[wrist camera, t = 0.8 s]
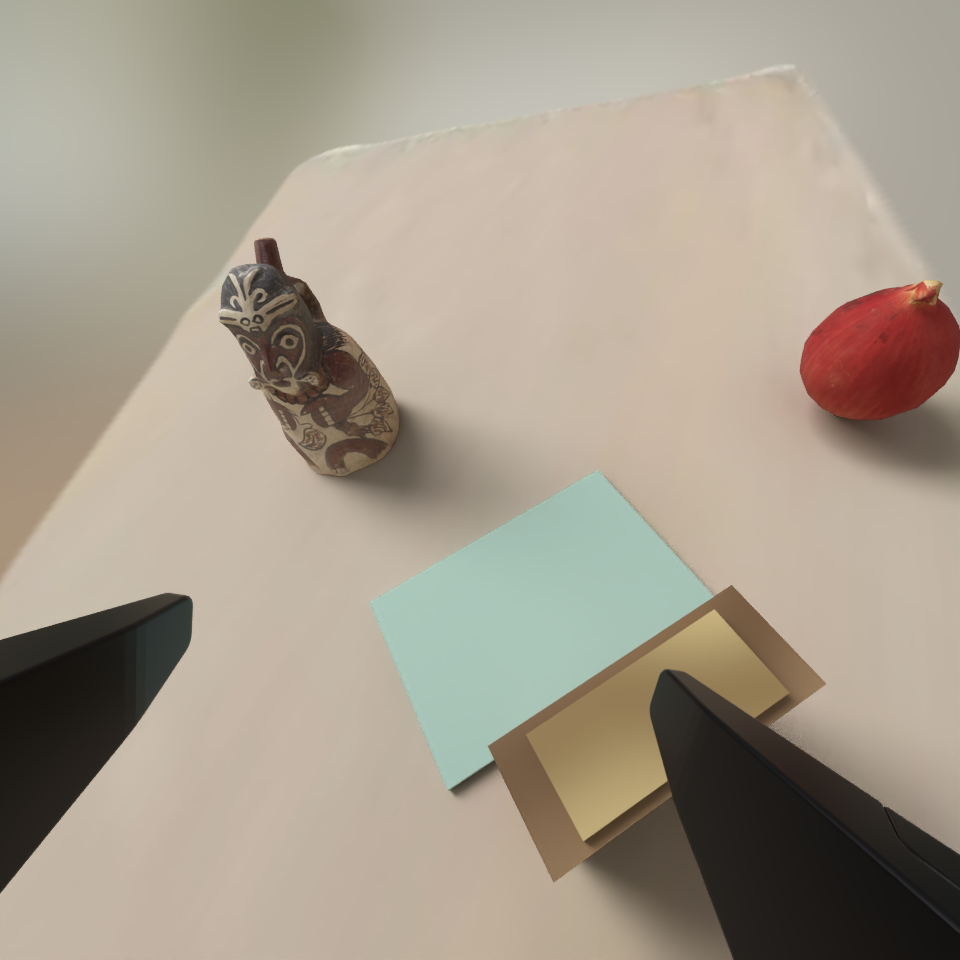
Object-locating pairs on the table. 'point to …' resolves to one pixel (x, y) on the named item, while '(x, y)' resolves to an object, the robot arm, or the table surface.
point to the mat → (529, 617)
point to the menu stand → (638, 727)
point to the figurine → (308, 368)
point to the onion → (882, 353)
